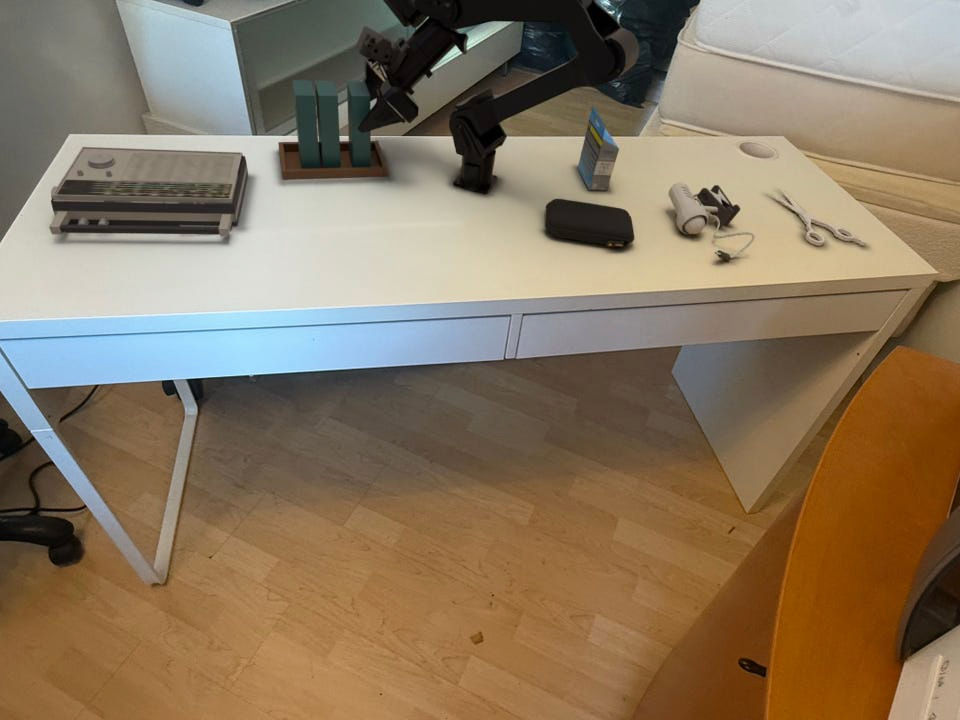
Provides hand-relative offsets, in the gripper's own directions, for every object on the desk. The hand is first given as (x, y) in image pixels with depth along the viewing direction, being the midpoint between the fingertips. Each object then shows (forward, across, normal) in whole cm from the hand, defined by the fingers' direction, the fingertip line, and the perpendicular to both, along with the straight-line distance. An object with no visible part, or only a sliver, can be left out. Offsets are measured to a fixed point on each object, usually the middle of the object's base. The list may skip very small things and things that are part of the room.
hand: (355, 118), depth 103 cm
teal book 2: (+9, 0, +2) cm, 9 cm away
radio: (+28, +11, -16) cm, 35 cm away
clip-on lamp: (-34, +28, +46) cm, 63 cm away
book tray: (+9, 0, +3) cm, 9 cm away
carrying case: (-18, +25, +31) cm, 44 cm away
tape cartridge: (-24, +8, +37) cm, 45 cm away
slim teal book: (+5, 0, +6) cm, 8 cm away
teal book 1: (+11, 0, 0) cm, 11 cm away
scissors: (-50, +25, +63) cm, 84 cm away
